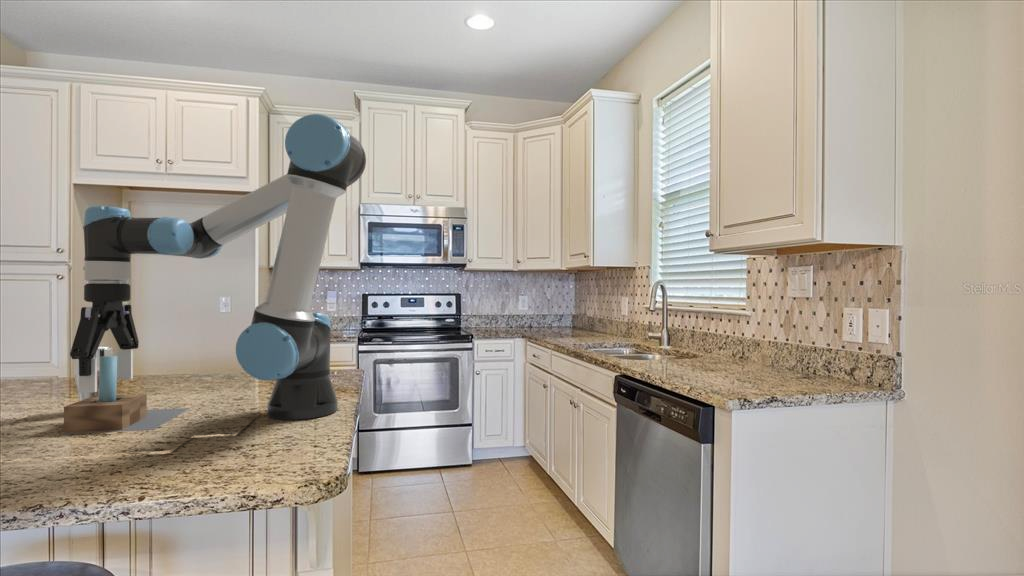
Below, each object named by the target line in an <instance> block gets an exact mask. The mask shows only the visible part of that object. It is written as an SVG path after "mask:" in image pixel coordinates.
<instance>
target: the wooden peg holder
mask: <svg viewBox="0 0 1024 576" xmlns="http://www.w3.org/2000/svg"><path fill="white" fill-rule="evenodd" d="M147 399H148V394H147V393H142V394H141V393H139V394H136V393H135V394H134V393H133V394H116V401H115V402H100V403H99V396H92V397H89V398H87V399H84V400H81V401H79V400H78V401H75V402H73V403H71V404H68V405H65V406H63V433H64V432H85V431H106V430H123V429H125V428H127V427H128V426H130V425H132V424H134V423H136V422H138V421H140V420H142V419H144V418H146V417H147V410H148V407H147V402H148V401H147Z"/></svg>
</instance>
